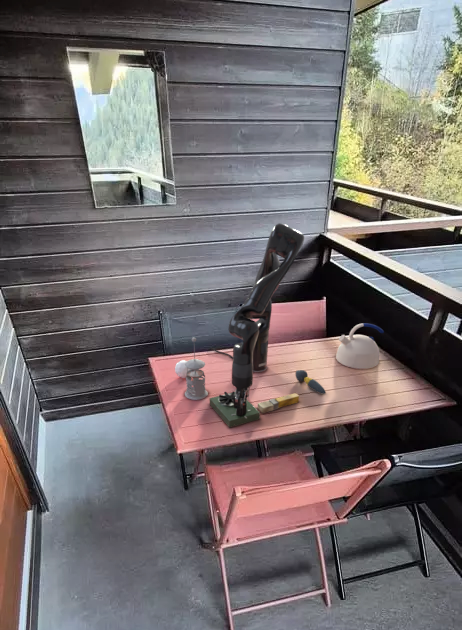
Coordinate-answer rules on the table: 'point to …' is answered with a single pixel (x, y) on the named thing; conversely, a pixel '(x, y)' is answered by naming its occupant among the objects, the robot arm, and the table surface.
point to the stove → (234, 413)
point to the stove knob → (244, 408)
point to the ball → (181, 369)
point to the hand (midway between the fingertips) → (241, 412)
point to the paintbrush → (309, 381)
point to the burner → (227, 399)
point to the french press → (195, 378)
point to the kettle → (358, 349)
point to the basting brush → (278, 402)
